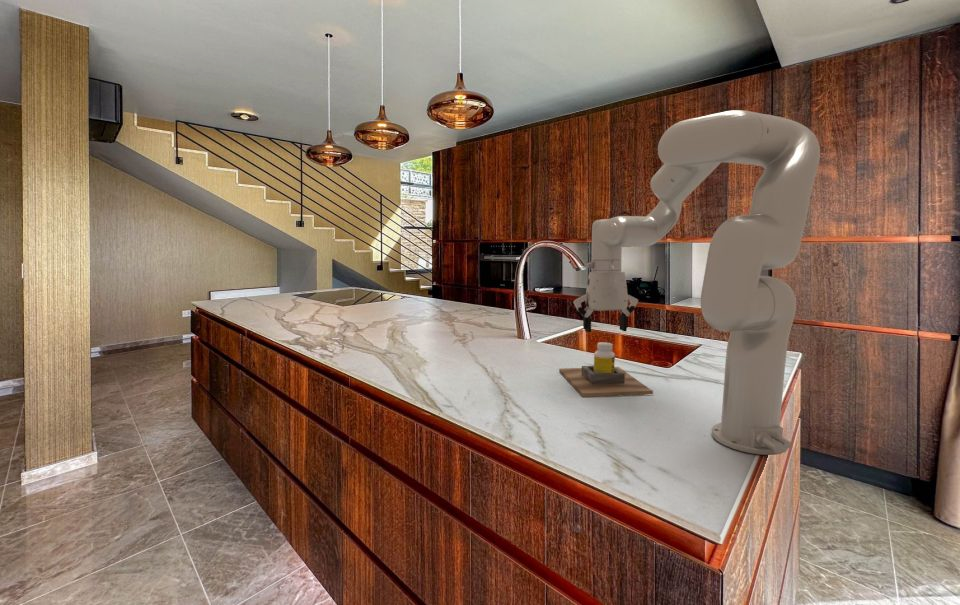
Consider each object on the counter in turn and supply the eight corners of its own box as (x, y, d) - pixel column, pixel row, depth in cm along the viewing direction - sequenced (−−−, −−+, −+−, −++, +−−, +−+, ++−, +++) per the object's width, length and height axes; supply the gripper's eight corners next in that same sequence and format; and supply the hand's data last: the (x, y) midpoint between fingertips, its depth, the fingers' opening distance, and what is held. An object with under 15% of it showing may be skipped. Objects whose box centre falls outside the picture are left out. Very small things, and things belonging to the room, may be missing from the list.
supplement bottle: (614, 382, 119) (616, 346, 118) (593, 381, 120) (594, 345, 119) (612, 376, 124) (614, 342, 123) (592, 375, 125) (593, 341, 124)
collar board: (652, 394, 112) (653, 381, 112) (582, 397, 111) (582, 383, 110) (618, 370, 134) (618, 358, 134) (559, 371, 133) (559, 360, 132)
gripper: (578, 268, 114) (578, 334, 116) (644, 266, 115) (642, 332, 117) (570, 267, 121) (569, 329, 123) (632, 266, 123) (630, 327, 125)
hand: (605, 331), depth 120 cm, fingers open, 9 cm apart
